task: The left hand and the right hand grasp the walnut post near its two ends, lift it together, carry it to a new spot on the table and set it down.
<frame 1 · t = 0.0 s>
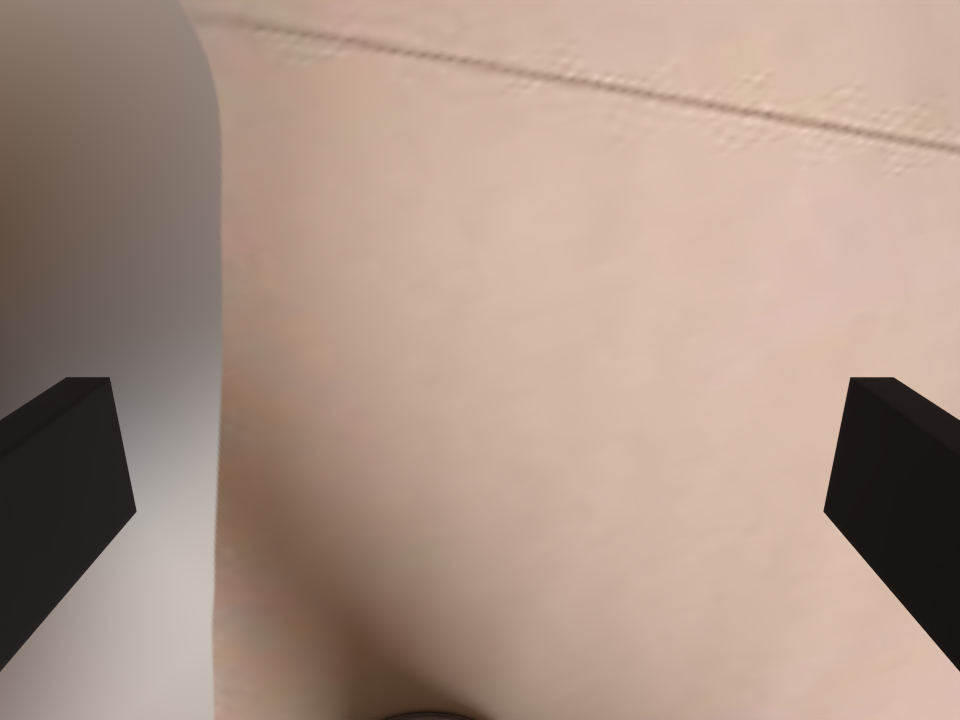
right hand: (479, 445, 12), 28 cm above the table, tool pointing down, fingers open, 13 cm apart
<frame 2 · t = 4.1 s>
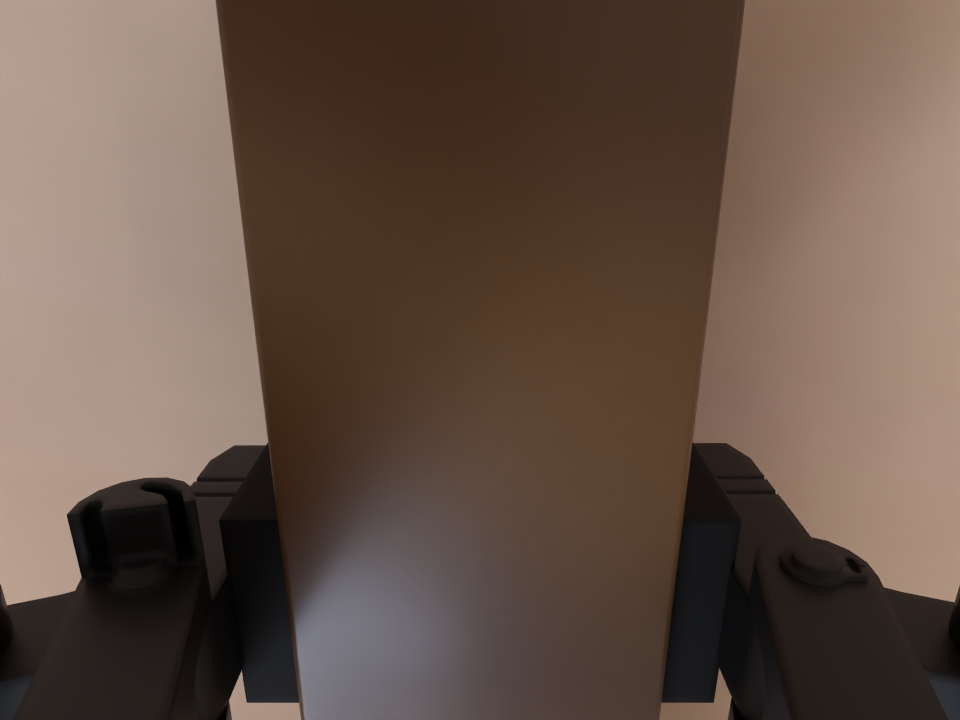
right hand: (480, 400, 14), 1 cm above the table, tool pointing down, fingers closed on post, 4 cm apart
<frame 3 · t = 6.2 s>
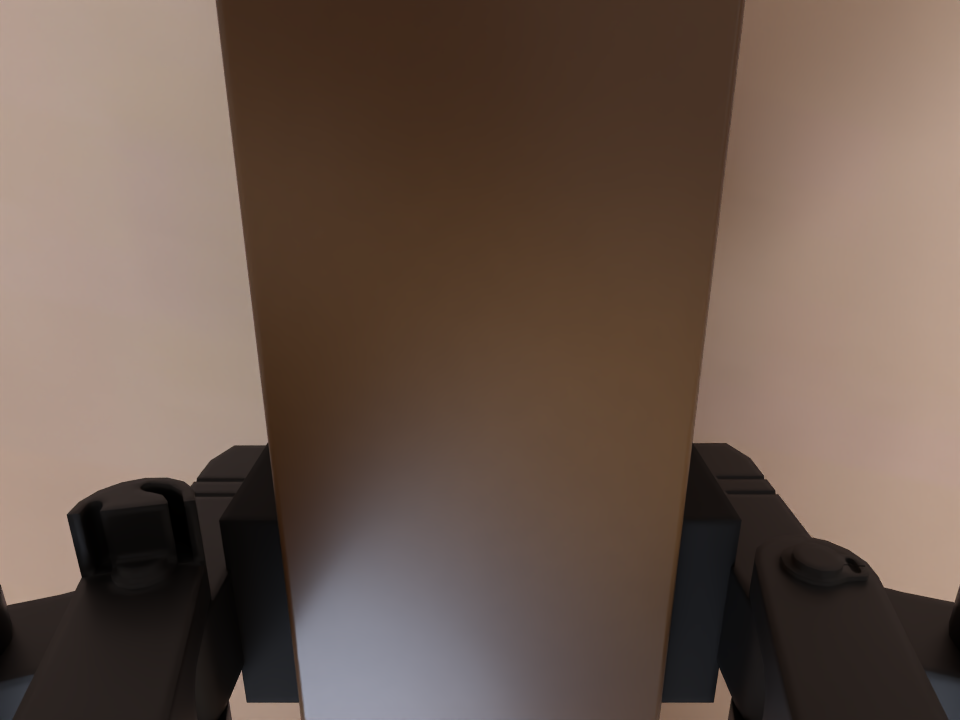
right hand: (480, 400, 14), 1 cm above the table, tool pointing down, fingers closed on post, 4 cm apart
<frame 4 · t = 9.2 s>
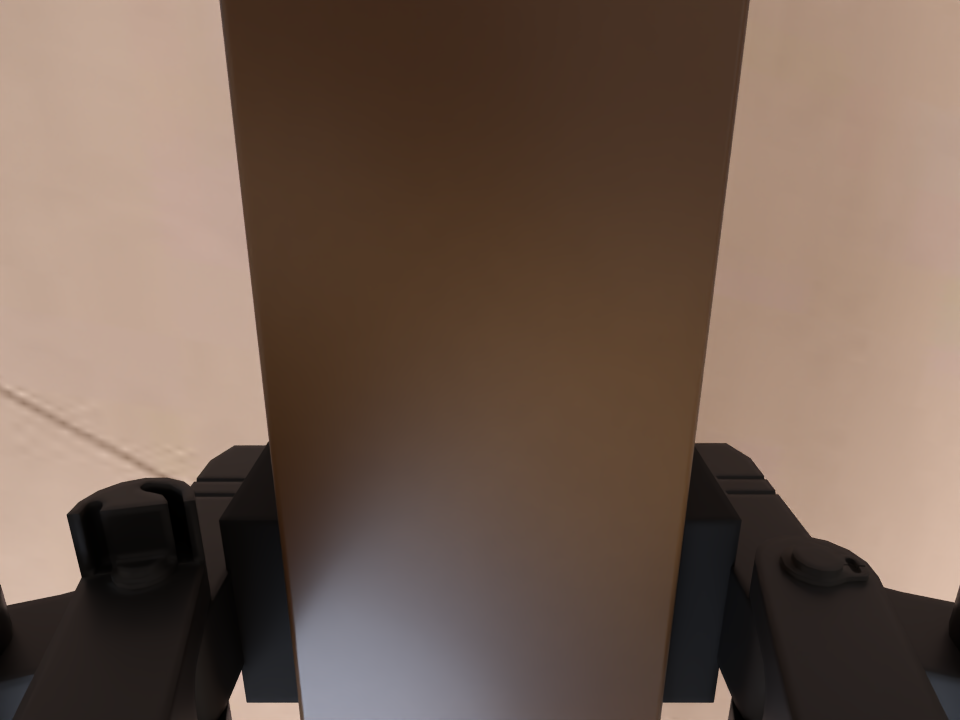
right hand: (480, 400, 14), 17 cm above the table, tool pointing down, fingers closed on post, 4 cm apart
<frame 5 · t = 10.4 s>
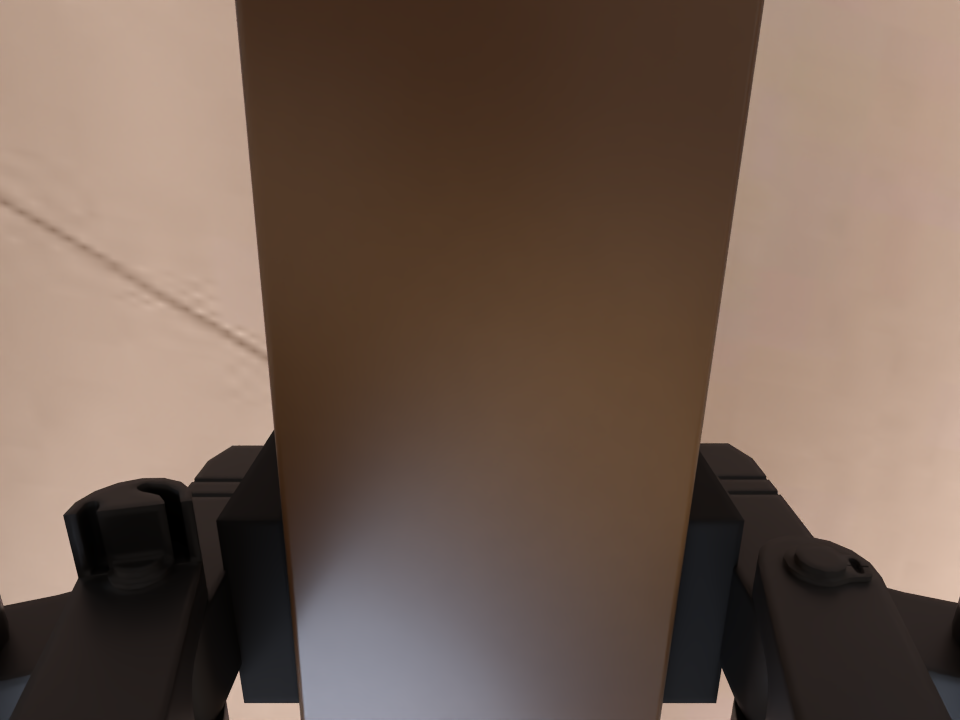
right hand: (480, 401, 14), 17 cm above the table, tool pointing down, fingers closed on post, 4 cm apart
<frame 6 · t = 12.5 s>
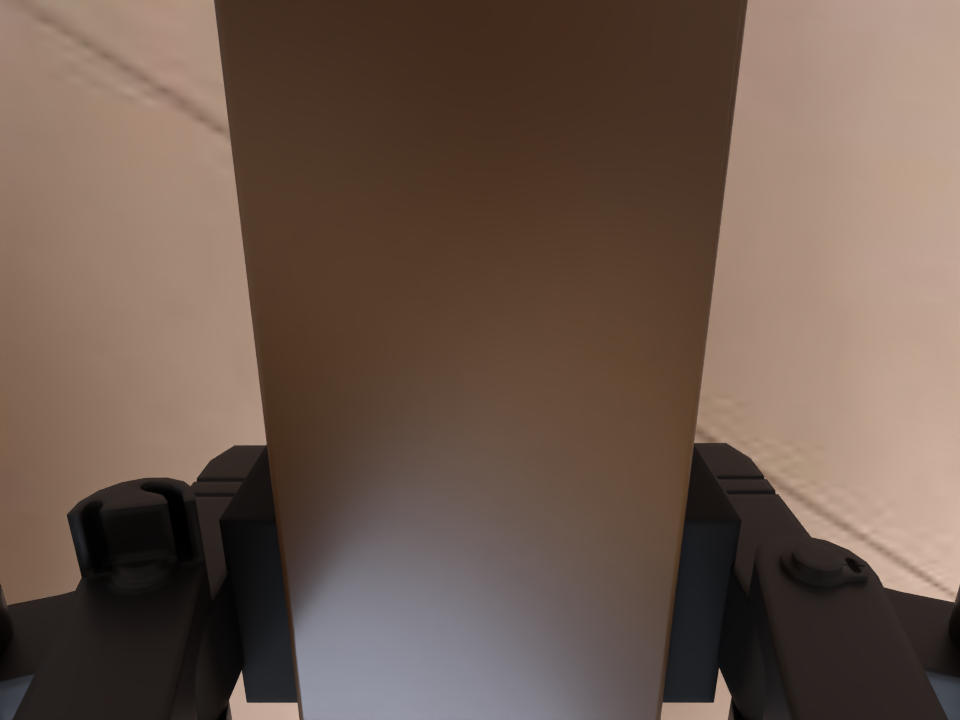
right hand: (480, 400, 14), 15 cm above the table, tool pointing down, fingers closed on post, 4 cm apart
when the right hand's fingers open (2 cm above the table, at t = 14.4 s): post drops 2 cm, on the table.
when the left hand's fingers open (2 cm above the table, at t = 14.5 s): post drops 2 cm, on the table.
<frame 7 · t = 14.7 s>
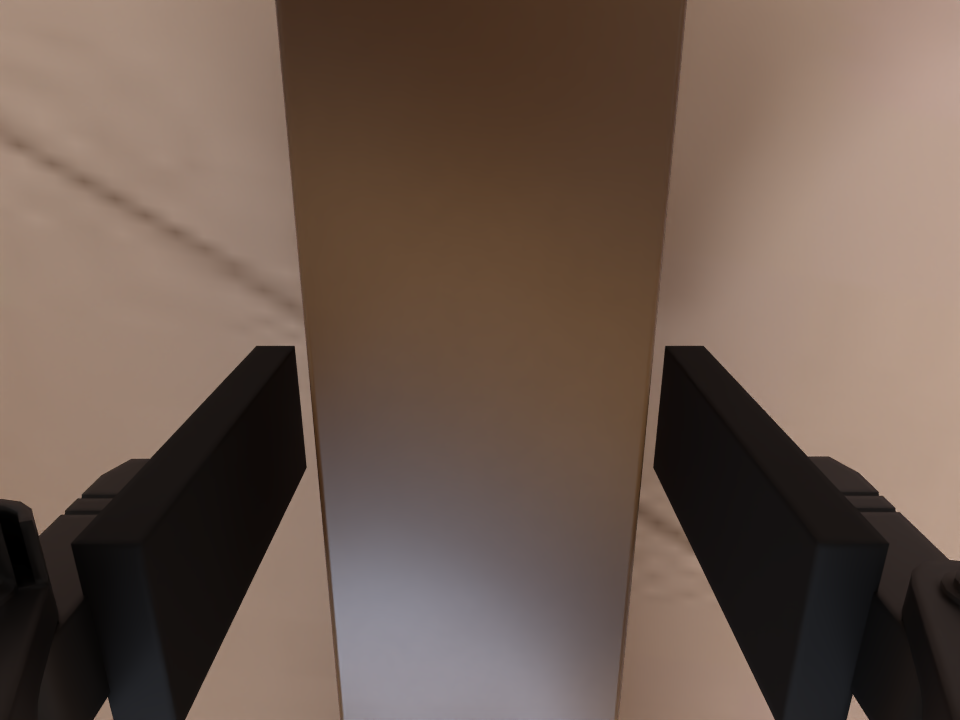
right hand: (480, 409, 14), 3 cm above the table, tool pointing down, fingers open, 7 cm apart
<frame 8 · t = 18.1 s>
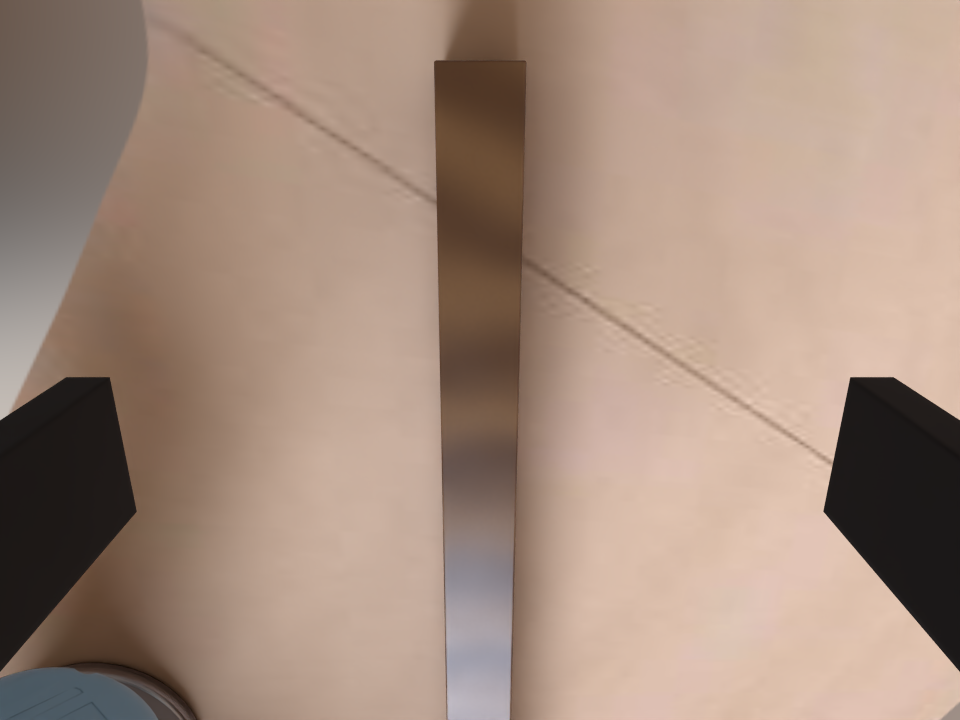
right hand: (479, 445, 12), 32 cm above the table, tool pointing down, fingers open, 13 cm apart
post: (479, 513, 50), on the table
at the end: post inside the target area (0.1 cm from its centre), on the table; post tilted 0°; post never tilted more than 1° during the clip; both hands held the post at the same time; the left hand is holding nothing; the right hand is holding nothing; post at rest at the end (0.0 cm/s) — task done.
